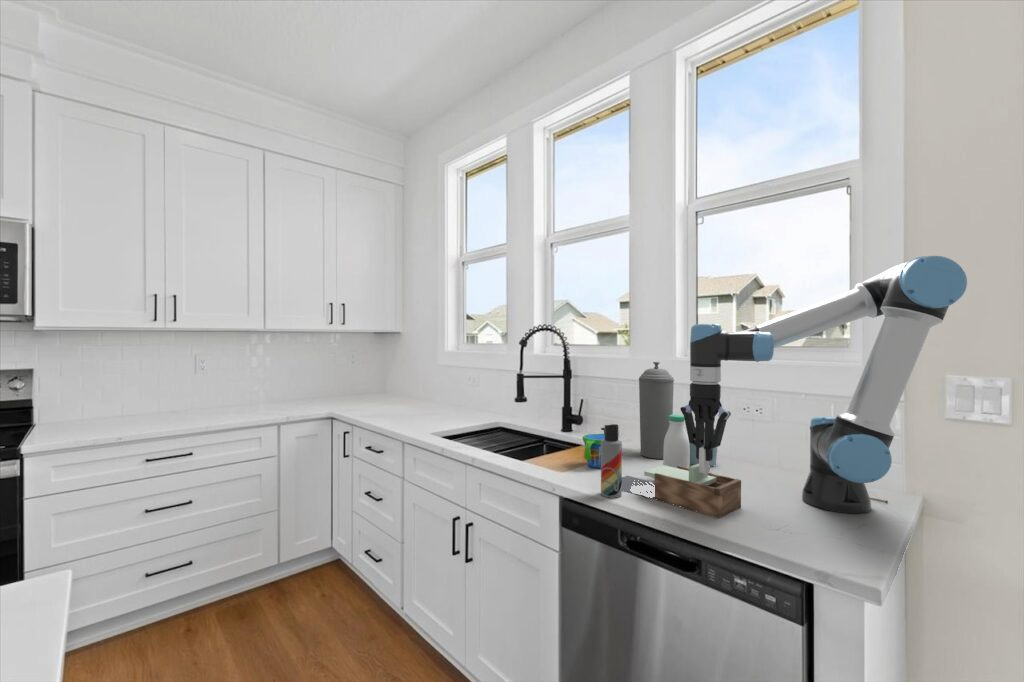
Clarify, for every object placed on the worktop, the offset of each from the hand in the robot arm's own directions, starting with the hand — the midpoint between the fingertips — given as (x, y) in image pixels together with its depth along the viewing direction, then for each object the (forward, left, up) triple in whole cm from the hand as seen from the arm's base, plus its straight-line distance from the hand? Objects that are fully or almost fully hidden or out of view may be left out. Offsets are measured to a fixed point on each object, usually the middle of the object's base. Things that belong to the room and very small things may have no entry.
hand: (704, 472), depth 128 cm
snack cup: (+43, -9, -9) cm, 45 cm away
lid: (+7, 0, -3) cm, 8 cm away
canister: (+38, -36, -9) cm, 53 cm away
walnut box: (+2, 0, -9) cm, 9 cm away
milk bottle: (+17, -15, -9) cm, 25 cm away
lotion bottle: (+21, +12, -9) cm, 26 cm away
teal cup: (+21, -39, -9) cm, 45 cm away
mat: (+21, 0, -9) cm, 22 cm away
